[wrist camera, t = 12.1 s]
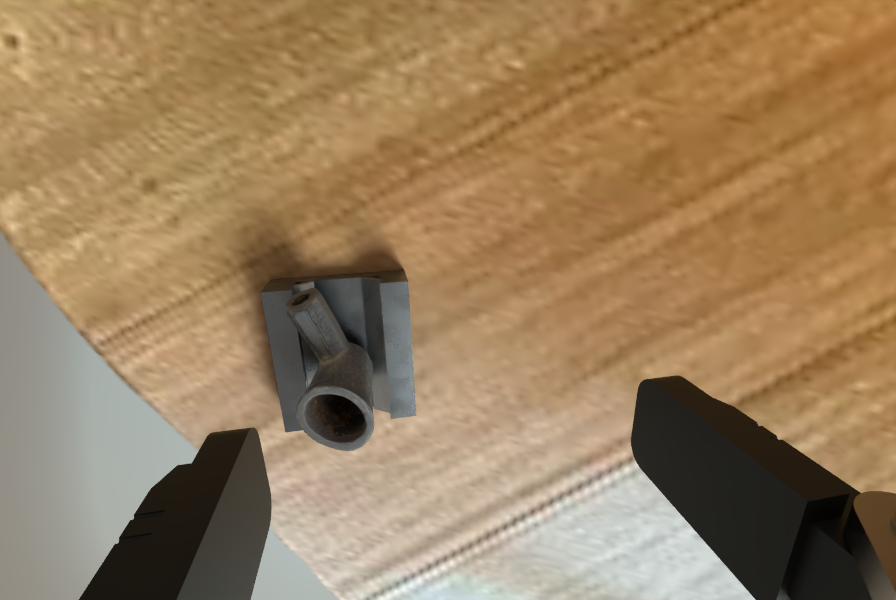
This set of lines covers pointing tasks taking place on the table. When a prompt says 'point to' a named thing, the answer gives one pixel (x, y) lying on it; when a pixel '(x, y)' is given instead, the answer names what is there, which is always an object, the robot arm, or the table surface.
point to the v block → (363, 323)
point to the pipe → (332, 377)
